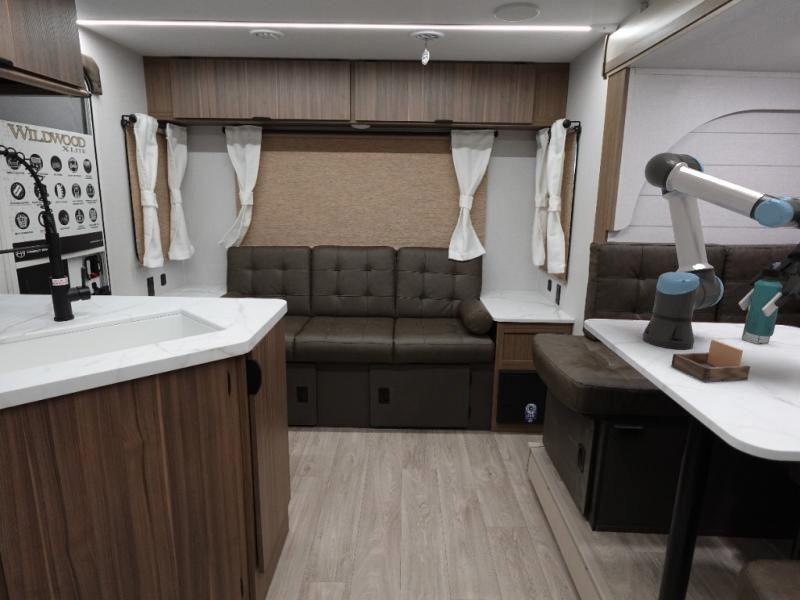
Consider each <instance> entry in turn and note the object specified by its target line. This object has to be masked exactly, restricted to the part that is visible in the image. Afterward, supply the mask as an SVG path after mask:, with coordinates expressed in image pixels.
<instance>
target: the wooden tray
mask: <svg viewBox="0 0 800 600" xmlns="http://www.w3.org/2000/svg"><path fill="white" fill-rule="evenodd" d="M708 354H709V351H708V352H689V353H673V354H672V359H671V364H670V367H671V368H674V369H676V370H678V371H679V372H682V373H684V374H686V375H689V376H690V377H692V376H693V378H694V377H695V378H694V379H697V380H699V381H701V382H704V383H716V382H717V383H719V382H720V381H721V382H736V381H748V380H749V379H748V378H749V375H750V370H751V366H749V365H740V366H727V367H715V366H713V365H711V364H708V363H707V359H708ZM721 382H720V383H721Z"/></svg>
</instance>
